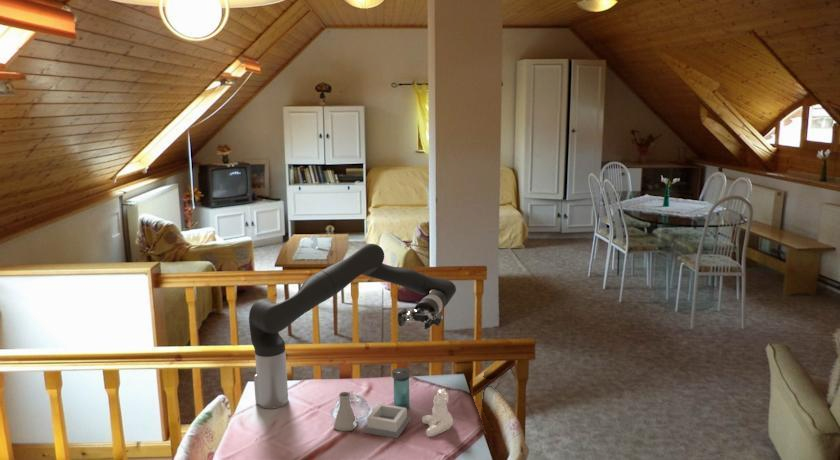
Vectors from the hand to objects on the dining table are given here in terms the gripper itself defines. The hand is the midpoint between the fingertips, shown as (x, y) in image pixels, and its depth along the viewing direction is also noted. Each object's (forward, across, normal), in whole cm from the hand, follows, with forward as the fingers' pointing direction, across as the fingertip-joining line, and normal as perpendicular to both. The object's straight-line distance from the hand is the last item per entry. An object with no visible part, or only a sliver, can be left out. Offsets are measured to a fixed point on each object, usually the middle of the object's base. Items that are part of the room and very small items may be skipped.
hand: (413, 324), depth 200 cm
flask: (+26, -12, +23) cm, 37 cm away
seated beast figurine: (+19, +14, +23) cm, 33 cm away
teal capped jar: (+11, 0, +23) cm, 26 cm away
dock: (+23, 0, +23) cm, 33 cm away
